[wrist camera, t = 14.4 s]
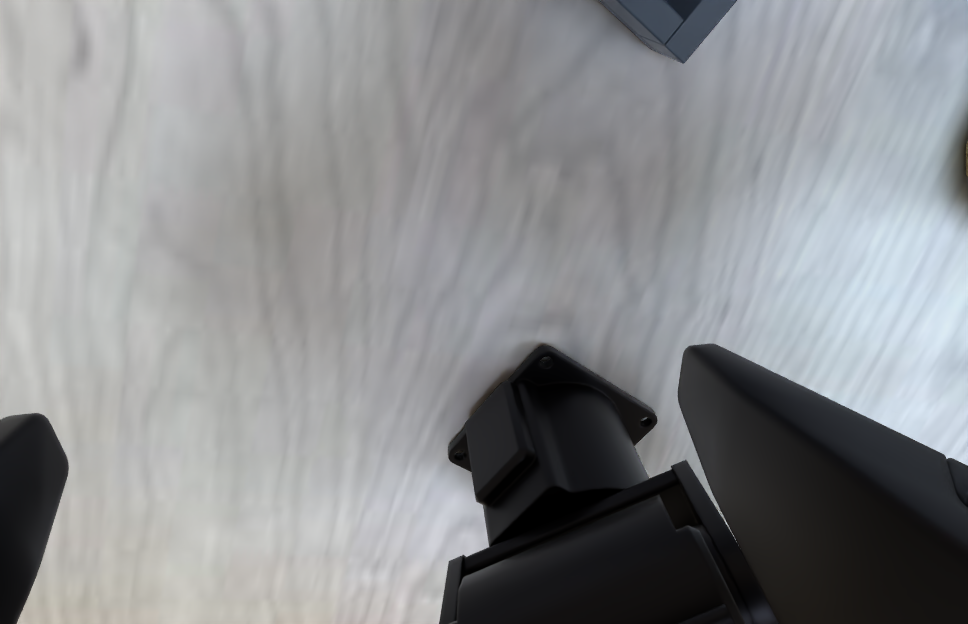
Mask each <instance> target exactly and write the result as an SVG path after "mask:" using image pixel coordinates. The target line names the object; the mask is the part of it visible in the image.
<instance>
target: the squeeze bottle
mask: <svg viewBox="0 0 968 624" xmlns="http://www.w3.org/2000/svg"><path fill="white" fill-rule="evenodd" d="M966 176H967V177H968V142H967V144H966Z"/></svg>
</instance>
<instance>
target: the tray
mask: <svg viewBox="0 0 968 624" xmlns="http://www.w3.org/2000/svg"><path fill="white" fill-rule="evenodd" d="M599 1H600V2H601V3H602V4H603V5H604V6H605V7H606V8H607V9H608V10H609V11H610V12H612V13H613V14H614V15H615V16H616V17H617V18H618V19H619V20H620V21H621V22H622V23H623V24H624V25H625V26H627V27H628V28H629V29H630V30H631V31H632V32H633V33H634V34H635V35H636V36H637V37H638V38H639V39H640V40H641V41H643V42H644V43H645V44H646V45H647V46H648V47H649V48H650V49H651V50H654V51H656V52H658V53H660V54H662V55H665V56H667V57H669V58H672V59H674V60H676V61H678V62H681V63H685V62H686V61H687V60H688V58H689V57H690V56H691V55H692V54H693V52H694V51H695V50H696V49H697V48H698V46H699V45H700V44H701V43H702V42H703V40H704V39H705V38H706V37H707V36H708V34H709V33H710V32H711V31H712V30H713V28H714V27H715V26H716V25H717V24H718V22H719V21H720V20H721V19H722V18H723V17H724V15H725V14H726V13H727V12H728V11H729V9H730V8H731V7H732V6H733V5H734V3H735V2H736V1H737V0H599Z"/></svg>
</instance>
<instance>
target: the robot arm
mask: <svg viewBox="0 0 968 624" xmlns="http://www.w3.org/2000/svg"><path fill="white" fill-rule="evenodd" d="M544 357H550V359H549V360H548V361H546V362H542V361H541V359H542V358H544ZM678 401H679V405H680V408H681V411H682V414H683V417H684V419H685V422H686V425H687V427H688V430H689V433H690V435H691V438H692V441H693V443H694V446H695V449H696V451H697V454H698V457H699V459H700V462H701V465H702V467H703V470H704V473H705V476H706V478H707V481H708V483H709V486H710V488H711V491H712V493H713V495H714V497H715V499H716V501H717V504H718V506H719V508H720V510H721V512H722V514H723V516H724V518H725V519H726V521H727V523H728V525H729V527H730V529H731V531H732V533H733V535H734V537H735V538H734V537H733V535H732V533H731V532H730V530H729V528H728V527H727V525H726V523H725V522H724V520H723V518H722V517H721V515H720V514H719V512H718V510H717V509H716V507H715V506H714V504H713V502H712V501H711V499H710V498H709V496H708V494H707V493H706V491H705V490H704V488H703V486H702V485H701V483H700V481H699V480H698V478H697V477H696V475H695V473H694V472H693V470H692V469H691V467H690V465H689V464H688V462H687V461H686V460H684V461H682V462H679V463H677V464H675V465H672V466H671V468H672V469H671V470H669V471H666V472H664V473H662V474H659V475H657V476H655V477H652V478H650V479H649V477H648V475H647V473H646V471H645V468H644V466H643V464H642V462H641V460H640V458H639V456H638V454H637V451H636V449H635V447H634V446H635V445H636V444H637V443H638V442H639V441H640V440H641V439H642V438H643V437H644V436H645V435H646V434H647V433H648V432H649V431H650V430H651V429H653V428H654V426H655V425H656V424H657V416H656V415H655V413H654V411H653V410H652V409H651V408H650V407H648V406H647V405H645V404H644V403H642V402H640V401H639V400H637V399H635V398H634V397H632V396H631V395H629V394H627V393H626V392H624V391H623V390H621V389H619V388H618V387H616V386H614V385H613V384H611V383H610V382H608V381H606V380H605V379H603V378H602V377H600V376H598V375H597V374H595V373H593V372H592V371H590V370H589V369H587V368H585V367H584V366H582V365H581V364H579V363H577V362H576V361H574V360H572V359H571V358H569V357H568V356H566V355H564V354H563V353H561V352H560V351H558V350H556V349H555V348H553V347H551V346H541V347H538V348H537V349H536V350H535V351H534V352H533V353H532V354H531V355H530V356H529V357H528V358H527V359H526V360H525V362H524V363H523V364H522V365H521V366H520V367H519V368H518V369H517V370H516V372H515V373H514V374H513V375H512V376H511V377H510V378H509V379H508V380H507V381H505V382H503V383H501V384H500V385H499V386H498V387H497V388H496V390H495V391H494V392H493V393H492V394H491V395H490V396H489V397H488V398H487V400H486V401H485V402H484V403H483V404H482V405H481V406H480V407H479V408H478V410H477V411H476V412H475V413H474V414H473V415H472V416H471V417H470V418H469V419H468V421H467V422H466V423H465V428H464V429H463V430H462V431H461V432H460V433H459V435H458V436H457V437H456V438H455V439H454V440H453V441H452V442H451V443H450V445H449V446H448V457H449V460H450V461H451V462H452V463H454V464H456V465H458V466H460V467H462V468H464V469H466V470H468V471H470V472H472V478H473V485H474V492H475V498H476V501H477V502H478V503H480V504H482V505H483V509H484V515H485V522H486V528H487V534H488V541H489V548H486V549H484V550H482V551H479V552H477V553H475V554H472V555H470V556H468V557H466V556H465V555H462V556H460V557H458V558H455V559H453V560H451V561H449V564H448V571H447V577H446V583H445V590H444V596H443V603H442V609H441V616H440V622H439V624H968V466H967V465H965V464H963V463H961V462H959V461H957V460H955V459H952V458H948V459H947V460H946V457H945V455H944V454H942V453H940V452H938V451H936V450H934V449H932V448H929V447H927V446H925V445H923V444H921V443H919V442H917V441H915V440H913V439H911V438H909V437H907V436H905V435H903V434H901V433H898V432H896V431H894V430H892V429H890V428H888V427H886V426H884V425H882V424H880V423H878V422H876V421H874V420H872V419H869V418H867V417H865V416H863V415H861V414H859V413H857V412H855V411H853V410H851V409H849V408H847V407H845V406H843V405H840V404H838V403H836V402H834V401H832V400H830V399H828V398H826V397H824V396H822V395H820V394H818V393H816V392H814V391H812V390H809V389H807V388H805V387H803V386H801V385H799V384H797V383H795V382H793V381H791V380H789V379H787V378H785V377H783V376H780V375H778V374H776V373H774V372H772V371H770V370H768V369H766V368H764V367H762V366H760V365H758V364H756V363H754V362H751V361H749V360H747V359H745V358H743V357H741V356H739V355H737V354H735V353H733V352H731V351H729V350H727V349H725V348H723V347H720V346H718V345H716V344H711V343H710V344H701V345H692V346H688V347H687V348H686V349H685V351H684V353H683V358H682V365H681V372H680V379H679V387H678ZM646 417H648V418H647V419H645V420H643V421H641V419H643V418H646ZM458 451H464V452H463V453H456V452H458ZM68 469H69V466H68V460H67V456H66V454H65V452H64V450H63V448H62V446H61V444H60V442H59V440H58V438H57V436H56V434H55V432H54V430H53V428H52V426H51V424H50V422H49V420H48V419H47V418H46V417H45V416H44V415H42V414H39V413H32V414H22V415H13V416H8V417H5V418H3V419H1V420H0V624H17V621H18V619H19V617H20V614H21V612H22V610H23V607H24V605H25V603H26V600H27V598H28V596H29V593H30V591H31V588H32V586H33V583H34V581H35V578H36V576H37V573H38V570H39V567H40V564H41V561H42V558H43V555H44V552H45V548H46V545H47V542H48V538H49V535H50V532H51V529H52V525H53V522H54V519H55V516H56V512H57V509H58V506H59V503H60V499H61V496H62V493H63V489H64V486H65V483H66V480H67V476H68ZM735 539H736V540H735ZM736 541H737V542H736ZM737 543H738V544H737Z"/></svg>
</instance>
